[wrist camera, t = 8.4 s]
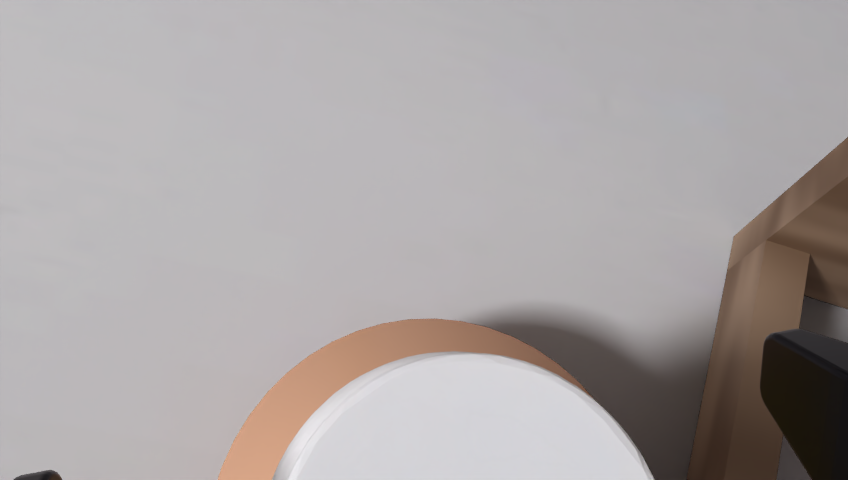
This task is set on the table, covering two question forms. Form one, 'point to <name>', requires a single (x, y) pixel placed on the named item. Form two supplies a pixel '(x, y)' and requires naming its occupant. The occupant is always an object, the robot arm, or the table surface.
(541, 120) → the table surface
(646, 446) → the table surface
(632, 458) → the supplement bottle
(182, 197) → the table surface
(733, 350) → the brown wooden frame
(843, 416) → the robot arm
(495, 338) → the terracotta stand
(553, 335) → the table surface
